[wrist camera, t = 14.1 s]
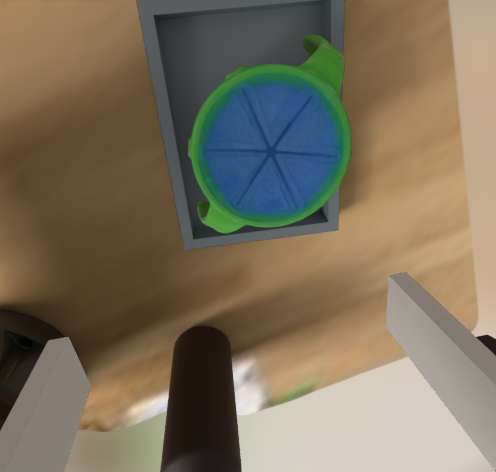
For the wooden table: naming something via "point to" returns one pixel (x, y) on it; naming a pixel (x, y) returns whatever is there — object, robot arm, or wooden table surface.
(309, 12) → the tray
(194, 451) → the bottle
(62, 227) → the wooden table surface
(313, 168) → the snack cup
